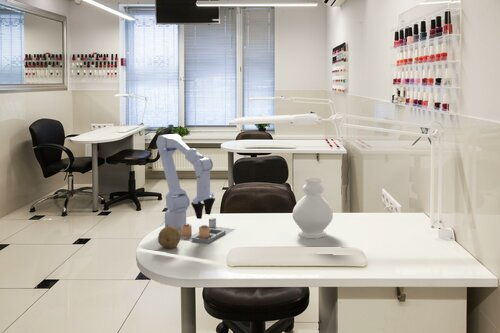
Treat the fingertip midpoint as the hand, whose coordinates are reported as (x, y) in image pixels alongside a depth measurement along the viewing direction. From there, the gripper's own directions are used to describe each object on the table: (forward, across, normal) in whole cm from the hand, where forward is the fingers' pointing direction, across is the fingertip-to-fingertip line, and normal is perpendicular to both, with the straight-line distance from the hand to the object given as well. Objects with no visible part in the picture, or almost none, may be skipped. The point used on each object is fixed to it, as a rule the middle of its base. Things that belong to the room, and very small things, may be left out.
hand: (203, 216), depth 229 cm
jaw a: (+8, -6, -4) cm, 11 cm away
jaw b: (+10, -4, +6) cm, 12 cm away
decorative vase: (+10, +25, -41) cm, 49 cm away
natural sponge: (+10, -21, +4) cm, 23 cm away
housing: (+10, +2, -2) cm, 10 cm away
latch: (+8, +12, +3) cm, 15 cm away
